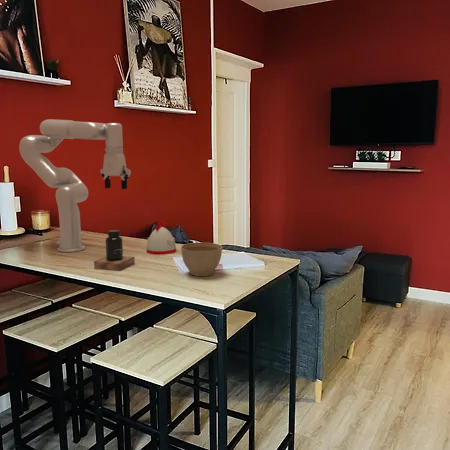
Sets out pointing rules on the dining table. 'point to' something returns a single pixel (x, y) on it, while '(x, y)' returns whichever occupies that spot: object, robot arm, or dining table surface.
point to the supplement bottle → (114, 246)
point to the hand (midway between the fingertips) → (116, 188)
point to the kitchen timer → (161, 241)
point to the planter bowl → (201, 258)
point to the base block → (114, 263)
